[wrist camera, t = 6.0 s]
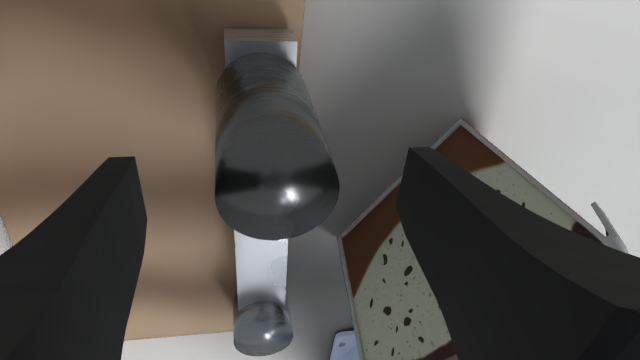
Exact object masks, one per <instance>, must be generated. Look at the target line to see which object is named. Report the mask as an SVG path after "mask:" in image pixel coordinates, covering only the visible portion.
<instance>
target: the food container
mask: <svg viewBox="0 0 640 360" xmlns="http://www.w3.org/2000/svg"><path fill="white" fill-rule="evenodd" d="M430 148H432V149H434V150H436V151H437V152H439V153H441V154H442V155H444V156H445V157H447V158H448V159H450V160H451V161H453V162H454V163H456V164H457V165H459V166H460V167H462V168H463V169H465V170H466V171H468V172H469V173H471V174H472V175H474V176H475V177H477V178H478V179H480V180H481V181H483V182H484V183H486V184H487V185H489V186H490V187H492V188H493V189H495V190H496V191H498V192H500V193H501V194H503V195H504V196H506V197H508V198H510V199H511V200H513V201H515V202H516V203H518V204H520V205H521V206H523V207H525V208H527V209H528V210H530V211H532V212H534V213H536V214H538V215H540V216H542V217H544V218H546V219H548V220H550V221H552V222H554V223H556V224H558V225H559V226H562V227H564V228H566V229H568V230H570V231H572V232H575V233H577V234H579V235H582V236H584V237H586V238H589V239H591V240H594V241H596V242H598V243H601V244H603V245H606V246H608V247H611V248H614V249H616V250H619V251H622V252H624V253H627V254H628V251H627V248H626V246H625V245H624V243H623V242H622V240H621V238H620V237H619V235H618V234H617V232H616V231H615V229H614V227H613V226H612V224H611V223H610V221H609V220H608V218H607V216H606V215H605V213H604V212H603V211H602V210H601V208H600V207H599V206H598V205H597V204H596V202H594V203H592V204H591V206H592V207H593V209H594V211H595V212H596V214H597V216H598V217H599V219H600V220H601V222H602V224H603V225H604V227H605V229H606V237H605V236H604V235H603V234H602V233H600V232H599V231H598V230H597V229H595V228H594V227H593V226H592V225H591V224H589V223H588V222H587V221H586V220H584V219H583V218H582V217H581V216H580V215H578V214H577V213H576V212H575V211H574V210H572V209H571V208H570V207H569V206H567V205H566V204H565V203H564V202H563V201H561V200H560V199H559V198H558V197H556V196H555V195H554V194H553V193H552V192H550V191H549V190H548V189H547V188H545V187H544V186H543V185H542V184H541V183H539V182H538V181H537V180H536V179H535V178H533V177H532V176H531V175H530V174H528V173H527V172H526V171H525V170H524V169H522V168H521V167H520V166H519V165H517V164H516V163H515V162H514V161H513V160H511V159H510V158H509V157H508V156H506V155H505V154H504V153H503V152H502V151H500V150H499V149H498V148H497V147H496V146H494V145H493V144H492V143H491V142H489V141H488V140H487V139H486V138H485V137H483V136H482V135H481V134H480V133H478V132H477V131H476V130H475V129H474V128H472V127H471V126H470V125H469V124H467V123H466V122H465V121H464V120H463V119H461V118H460V119H459V120H458V121H457V122H456V123H455V124H454V125H453V126H452V127H451V128H450V129H449V130H447V131H446V132H445V133H444V134H443V135H442V136H441V137H440V138H439V139H438V140H437V141H436V142H435V143H434V144H433V145H432V146H431V147H430ZM402 176H403V174H402V175H401V176H400V177H399V178H398V179H397V180H396V181H395V182H394V183H393V184H392V185H391V186H390V187H389V188H388V189H386V190H385V191H384V192H383V193H382V194H381V195H380V196H379V197H378V198H377V199H376V200H375V201H374V202H373V203H372V204H371V205H370V206H369V207H368V208H367V209H366V210H365V211H364V212H363V213H362V214H361V215H360V216H359V217H358V218H357V219H355V220H354V221H353V222H352V223H351V224H350V225H349V226H348V227H347V228H346V229H345V230H344V231H343V232H342V233H341V234H340V235H339V236H338V237H337V241H338V247H339V252H340V257H341V263H342V268H343V273H344V279H345V284H346V289H347V295H348V300H349V305H350V311H351V316H352V321H353V327H354V332H355V338H356V343H357V348H358V354H359V359H360V360H458V358H457V354H456V351H455V348H454V345H453V342H452V340H451V337H450V334H449V331H448V328H447V325H446V323H445V320H444V317H443V314H442V312H441V309H440V307H439V305H438V303H437V300H436V298H435V296H434V294H433V292H432V290H431V288H430V286H429V284H428V282H427V279H426V277H425V275H424V273H423V271H422V269H421V267H420V265H419V263H418V261H417V259H416V257H415V255H414V253H413V251H412V248H411V246H410V244H409V242H408V240H407V238H406V236H405V233H404V230H403V227H402V224H401V221H400V217H399V214H398V211H397V207H396V201H397V197H398V192H399V188H400V184H401V180H402Z"/></svg>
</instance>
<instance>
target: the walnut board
mask: <svg viewBox="0 0 640 360" xmlns="http://www.w3.org/2000/svg"><path fill="white" fill-rule="evenodd" d="M304 4H305V0H0V216H1V218H2V220H3V223H4V225H5V228H6V230H7V233H8V235H9V237H10V240H11V242H12V245H13V246H14V245H15V244H16V243H18V242H19V241H20V240H21V239H23V238H24V237H25V236H26V235H28V234H29V233H30V232H31V231H32V230H33V229H35V228H36V227H37V226H38V225H39V224H40V223H41V222H42V221H44V220H45V219H46V218H47V217H48V216H49V215H50V214H52V213H53V212H54V211H55V210H56V209H57V208H58V207H59V206H60V205H61V204H62V203H63V202H64V201H65V200H66V199H67V198H69V197H70V196H71V195H72V194H73V193H74V192H75V191H76V190H77V189H78V188H79V187H80V186H81V185H82V184H83V183H84V182H85V181H86V179H87V178H88V177H89V176H90V175H91V174H92V173H93V172H94V171H95V170H96V169H97V168H98V167H99V166H100V165H101V164H102V163H103V162H104V161H105V160H106V159H107V158H108V157H131V156H135V159H136V164H137V169H138V174H139V179H140V184H141V189H142V194H143V199H144V204H145V209H146V214H147V229H146V240H145V250H144V256H143V260H142V265H141V269H140V273H139V277H138V282H137V286H136V290H135V294H134V298H133V302H132V306H131V311H130V315H129V319H128V323H127V327H126V331H125V337H124V341H128V340H139V339H150V338H162V337H173V336H184V335H196V334H207V333H218V332H230V331H233V299H234V297H235V295H236V294H237V274H236V255H235V236H234V229H232V228H231V227H230V226H229V225H228V224H227V223H226V222H225V221H224V220H223V219H222V217H221V216H220V214H219V212H218V210H217V207H216V203H215V91H216V85H217V82H218V80H219V78H220V75H221V74H222V72H223V71H224V70H225V69H226V67H225V48H224V28H228V29H288V30H293V31H294V34H295V36H296V39H297V42H298V43H297V64H296V69H297V70H298V69H299V58H300V48H301V37H302V26H303V15H304Z"/></svg>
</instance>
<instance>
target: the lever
mask: <svg viewBox="0 0 640 360" xmlns="http://www.w3.org/2000/svg"><path fill="white" fill-rule="evenodd" d="M297 43H298V42H297V39H296V36H295V34H294V31H293V30H288V29H228V28H224V48H225V67H226V69H225V70H224V71H223V72H222V74H221V75H220V78H219V80H218V82H217V85H216V91H215V203H216V207H217V210H218V212H219V214H220V216H221V217H222V219H223V220H224V221H225V222H226V223H227V224H228V225H229V226H230V227H231V228H232V229H234V236H235V255H236V274H237V294H236V295H235V297H234V299H233V331H234V345H235V347H236V349H237V350H238V351H240V352H241V353H243V354H246V355H250V356H266V355H271V354H274V353H277V352H279V351H281V350H283V349H284V348H286V347H287V346H288V345H289V344H290V342H291V341H292V338H293V331H292V325H291V318H290V311H289V305H288V298H287V294H286V274H287V253H288V238H292V237H296V236H299V235H301V234H304V233H306V232H308V231H310V230H312V229H313V228H315V227H316V226H318V225H319V224H320V223H321V222H322V221H324V220H325V219H326V217H327V216H328V215H329V214H330V213H331V211H332V210H333V208H334V206H335V204H336V202H337V199H338V195H339V179H338V176H337V173H336V170H335V167H334V164H333V162H332V159H331V156H330V153H329V150H328V148H327V145H326V142H325V139H324V136H323V134H322V131H321V128H320V125H319V122H318V120H317V117H316V114H315V111H314V108H313V106H312V103H311V100H310V97H309V94H308V92H307V89H306V86H305V83H304V80H303V78H302V76H301V74H300V73H299V71H298V70H297V69H296V64H297Z"/></svg>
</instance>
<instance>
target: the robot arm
mask: <svg viewBox="0 0 640 360" xmlns="http://www.w3.org/2000/svg"><path fill="white" fill-rule="evenodd" d="M396 207H397V211H398V214H399V217H400V221H401V224H402V227H403V230H404V233H405V236H406V238H407V240H408V242H409V244H410V246H411V248H412V251H413V253H414V255H415V257H416V259H417V261H418V263H419V265H420V267H421V269H422V271H423V273H424V275H425V277H426V279H427V282H428V284H429V286H430V288H431V290H432V292H433V294H434V296H435V298H436V300H437V303H438V305H439V307H440V309H441V312H442V314H443V317H444V320H445V323H446V325H447V328H448V331H449V334H450V337H451V340H452V342H453V345H454V348H455V351H456V354H457V358H458V360H640V258H639V257H636V256H633V255H630V254H627V253H624V252H622V251H619V250H616V249H614V248H611V247H608V246H606V245H603V244H601V243H598V242H596V241H594V240H591V239H589V238H586V237H584V236H582V235H579V234H577V233H575V232H572V231H570V230H568V229H566V228H564V227H562V226H559V225H558V224H556V223H554V222H552V221H550V220H548V219H546V218H544V217H542V216H540V215H538V214H536V213H534V212H532V211H530V210H528V209H527V208H525V207H523V206H521V205H520V204H518V203H516V202H515V201H513V200H511V199H510V198H508V197H506V196H504V195H503V194H501V193H500V192H498V191H496V190H495V189H493V188H492V187H490V186H489V185H487V184H486V183H484V182H483V181H481V180H480V179H478V178H477V177H475V176H474V175H472V174H471V173H469V172H468V171H466V170H465V169H463V168H462V167H460V166H459V165H457V164H456V163H454V162H453V161H451V160H450V159H448V158H447V157H445V156H444V155H442V154H441V153H439V152H437V151H436V150H434V149H432V148H430V147H416V148H409V150H408V155H407V159H406V163H405V167H404V171H403V176H402V180H401V184H400V188H399V192H398V197H397V201H396ZM146 229H147V214H146V209H145V204H144V199H143V194H142V189H141V184H140V179H139V174H138V169H137V164H136V159H135V156H131V157H108V158H107V159H106V160H105V161H104V162H103V163H102V164H101V165H100V166H99V167H98V168H97V169H96V170H95V171H94V172H93V173H92V174H91V175H90V176H89V177H88V178H87V179H86V181H85V182H84V183H83V184H82V185H81V186H80V187H79V188H78V189H77V190H76V191H75V192H74V193H73V194H72V195H71V196H70V197H69V198H67V199H66V200H65V201H64V202H63V203H62V204H61V205H60V206H59V207H58V208H57V209H56V210H55V211H54V212H53V213H52V214H50V215H49V216H48V217H47V218H46V219H45V220H44V221H42V222H41V223H40V224H39V225H38V226H37V227H36V228H35V229H33V230H32V231H31V232H30V233H29V234H28V235H26V236H25V237H24V238H23V239H21V240H20V241H19V242H18V243H16V244H15V245H14V246H12V247H11V248H10V249H8V250H7V251H6V252H4V253H3V254H2V255H0V360H121V354H122V347H123V342H124V337H125V331H126V327H127V323H128V319H129V315H130V311H131V306H132V302H133V298H134V294H135V290H136V286H137V282H138V277H139V273H140V269H141V265H142V260H143V256H144V250H145V240H146ZM330 360H360V359H359V354H358V348H357V343H356V338H355V332H354V331H344V332H339V333H338V334H336V336H335V339H334V343H333V348H332V352H331V356H330Z"/></svg>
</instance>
